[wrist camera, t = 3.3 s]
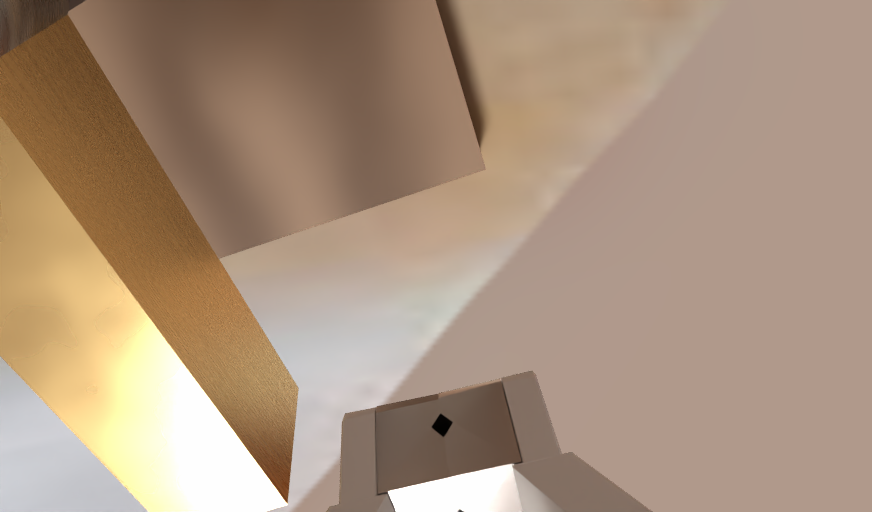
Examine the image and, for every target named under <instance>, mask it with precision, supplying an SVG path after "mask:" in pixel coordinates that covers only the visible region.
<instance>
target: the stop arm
mask: <svg viewBox="0 0 872 512" xmlns="http://www.w3.org/2000/svg"><path fill="white" fill-rule="evenodd" d="M68 10H69V0H0V356H1V357H2V358H3V359H4V360H5V362H6V363H7V364H8V365H9V366H10V367H11V368H12V369H13V370H14V371H15V372H16V373H17V374H18V375H19V376H20V377H21V378H22V379H23V380H24V381H25V382H26V384H27V385H28V386H29V387H30V388H31V389H32V390H33V391H34V392H35V393H36V394H37V395H38V396H39V397H40V398H41V399H42V400H43V401H44V402H45V403H46V404H47V406H48V407H49V408H50V409H51V410H52V411H53V412H54V413H55V414H56V415H57V416H58V417H59V418H60V419H61V420H62V421H63V422H64V423H65V424H66V425H67V426H68V428H69V429H70V430H71V431H72V432H73V433H74V434H75V435H76V436H77V437H78V438H79V439H80V440H81V441H82V442H83V443H84V444H85V445H86V446H87V447H88V449H89V450H90V451H91V452H92V453H93V454H94V455H95V456H96V457H97V458H98V459H99V460H100V461H101V462H102V463H103V464H104V465H105V466H106V467H107V468H108V469H109V471H110V472H111V473H112V474H113V475H114V476H115V477H116V478H117V479H118V480H119V481H120V482H121V483H122V484H123V485H124V486H125V487H126V488H127V489H128V490H129V491H130V493H131V494H132V495H133V496H134V497H135V498H136V499H137V500H138V501H139V502H140V503H141V504H142V505H143V506H144V507H145V508H146V509H147V510H148V511H149V512H265V511H268V510H271V509H275V508H278V507H281V506H285V505H287V504H288V493H289V483H290V472H291V461H292V451H293V440H294V430H295V419H296V408H297V398H298V387H297V385H296V383H295V382H294V380H293V378H292V377H291V375H290V374H289V372H288V370H287V369H286V367H285V366H284V364H283V362H282V361H281V359H280V357H279V356H278V354H277V353H276V351H275V349H274V348H273V346H272V344H271V343H270V341H269V340H268V338H267V336H266V335H265V333H264V331H263V330H262V328H261V327H260V325H259V323H258V322H257V320H256V319H255V317H254V315H253V314H252V312H251V310H250V309H249V307H248V306H247V304H246V302H245V301H244V299H243V297H242V296H241V294H240V293H239V291H238V289H237V288H236V286H235V284H234V283H233V281H232V280H231V278H230V276H229V275H228V273H227V272H226V270H225V268H224V267H223V265H222V263H221V262H220V260H219V259H218V257H217V255H216V254H215V252H214V250H213V249H212V247H211V246H210V244H209V242H208V241H207V239H206V237H205V236H204V234H203V233H202V231H201V229H200V228H199V226H198V225H197V223H196V221H195V220H194V218H193V216H192V215H191V213H190V212H189V210H188V208H187V207H186V205H185V203H184V202H183V200H182V199H181V197H180V195H179V194H178V192H177V191H176V189H175V187H174V186H173V184H172V182H171V181H170V179H169V178H168V176H167V174H166V173H165V171H164V169H163V168H162V166H161V165H160V163H159V161H158V160H157V158H156V156H155V155H154V153H153V152H152V150H151V148H150V147H149V145H148V144H147V142H146V140H145V139H144V137H143V135H142V134H141V132H140V131H139V129H138V127H137V126H136V124H135V122H134V121H133V119H132V118H131V116H130V114H129V113H128V111H127V109H126V108H125V106H124V105H123V103H122V101H121V100H120V98H119V97H118V95H117V93H116V92H115V90H114V88H113V87H112V85H111V84H110V82H109V80H108V79H107V77H106V75H105V74H104V72H103V71H102V69H101V67H100V66H99V64H98V62H97V61H96V59H95V58H94V56H93V54H92V53H91V51H90V50H89V48H88V46H87V45H86V43H85V41H84V40H83V38H82V37H81V35H80V33H79V32H78V30H77V28H76V27H75V25H74V24H73V22H72V20H71V19H70V17H69V16H68Z"/></svg>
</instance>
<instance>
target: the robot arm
mask: <svg viewBox="0 0 872 512" xmlns="http://www.w3.org/2000/svg"><path fill="white" fill-rule="evenodd" d="M326 512H652V511H650V510H649V509H648V508H647V507H645V506H644V505H643V504H641V503H640V502H638V501H637V500H636V499H635V498H633V497H632V496H631V495H629V494H628V493H626V492H625V491H624V490H622V489H621V488H620V487H618V486H617V485H616V484H614V483H613V482H612V481H610V480H609V479H608V478H606V477H605V476H603V475H602V474H601V473H599V472H598V471H597V470H595V469H594V468H593V467H591V466H590V465H589V464H587V463H586V462H584V461H583V460H582V459H580V458H579V457H578V456H576V455H575V454H574V453H572V452H569V453H564V454H562V453H561V450H560V447H559V444H558V441H557V438H556V435H555V432H554V429H553V426H552V423H551V420H550V417H549V414H548V411H547V408H546V404H545V401H544V398H543V395H542V392H541V389H540V386H539V383H538V380H537V377H536V374H535V373H534V372H533V371H528V372H524V373H520V374H516V375H512V376H508V377H503V378H501V380H500V379H495V380H491V381H488V382H483V383H479V384H475V385H470V386H466V387H462V388H458V389H454V390H450V391H446V392H441V393H439V394H435V395H430V396H426V397H421V398H415V399H411V400H406V401H401V402H396V403H391V404H386V405H381V406H377V407H375V408H370V409H365V410H360V411H355V412H350V413H345V415H344V418H343V421H342V435H341V464H340V492H339V504H338V505H335V506H330V507H329V508H328V510H327V511H326Z"/></svg>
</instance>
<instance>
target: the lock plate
mask: <svg viewBox="0 0 872 512" xmlns="http://www.w3.org/2000/svg"><path fill="white" fill-rule="evenodd" d="M68 16H69V17H70V19H71V20H72V22H73V24H74V25H75V27H76V28H77V30H78V32H79V33H80V35H81V37H82V38H83V40H84V41H85V43H86V45H87V46H88V48H89V50H90V51H91V53H92V54H93V56H94V58H95V59H96V61H97V62H98V64H99V66H100V67H101V69H102V71H103V72H104V74H105V75H106V77H107V79H108V80H109V82H110V84H111V85H112V87H113V88H114V90H115V92H116V93H117V95H118V97H119V98H120V100H121V101H122V103H123V105H124V106H125V108H126V109H127V111H128V113H129V114H130V116H131V118H132V119H133V121H134V122H135V124H136V126H137V127H138V129H139V131H140V132H141V134H142V135H143V137H144V139H145V140H146V142H147V144H148V145H149V147H150V148H151V150H152V152H153V153H154V155H155V156H156V158H157V160H158V161H159V163H160V165H161V166H162V168H163V169H164V171H165V173H166V174H167V176H168V178H169V179H170V181H171V182H172V184H173V186H174V187H175V189H176V191H177V192H178V194H179V195H180V197H181V199H182V200H183V202H184V203H185V205H186V207H187V208H188V210H189V212H190V213H191V215H192V216H193V218H194V220H195V221H196V223H197V225H198V226H199V228H200V229H201V231H202V233H203V234H204V236H205V237H206V239H207V241H208V242H209V244H210V246H211V247H212V249H213V250H214V252H215V254H216V255H217V257H218V259H219V258H222V257H225V256H228V255H231V254H234V253H237V252H240V251H243V250H246V249H249V248H252V247H255V246H258V245H261V244H264V243H267V242H270V241H273V240H276V239H279V238H282V237H285V236H288V235H291V234H294V233H297V232H300V231H303V230H306V229H309V228H312V227H315V226H318V225H321V224H324V223H327V222H330V221H333V220H336V219H339V218H342V217H345V216H348V215H351V214H354V213H357V212H360V211H363V210H366V209H369V208H372V207H375V206H378V205H381V204H384V203H387V202H390V201H393V200H396V199H399V198H402V197H405V196H408V195H411V194H414V193H417V192H420V191H422V190H425V189H428V188H431V187H434V186H437V185H440V184H443V183H446V182H449V181H452V180H455V179H458V178H461V177H464V176H467V175H470V174H473V173H476V172H479V171H482V170H485V169H486V168H485V164H484V161H483V158H482V154H481V151H480V148H479V144H478V141H477V138H476V134H475V131H474V128H473V124H472V121H471V117H470V114H469V111H468V107H467V104H466V101H465V97H464V94H463V91H462V87H461V84H460V81H459V77H458V74H457V71H456V67H455V64H454V61H453V57H452V54H451V51H450V47H449V44H448V40H447V37H446V34H445V30H444V27H443V24H442V20H441V17H440V14H439V10H438V7H437V4H436V0H69V10H68Z"/></svg>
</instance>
